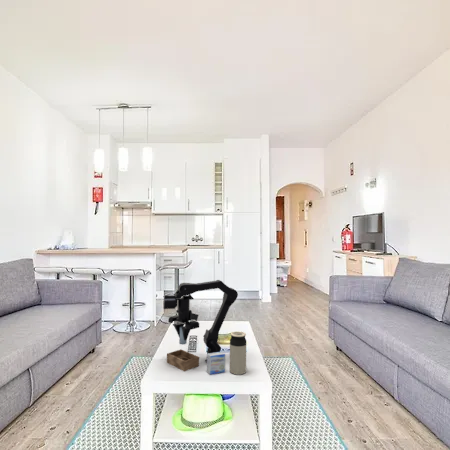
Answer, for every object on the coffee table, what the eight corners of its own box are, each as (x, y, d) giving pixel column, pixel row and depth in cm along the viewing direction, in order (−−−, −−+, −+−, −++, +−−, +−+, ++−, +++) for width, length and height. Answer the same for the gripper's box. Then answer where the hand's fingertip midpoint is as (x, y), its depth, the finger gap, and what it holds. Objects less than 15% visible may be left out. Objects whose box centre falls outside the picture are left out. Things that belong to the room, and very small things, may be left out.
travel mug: (231, 375, 146) (232, 336, 147) (227, 368, 154) (228, 331, 154) (248, 374, 148) (248, 335, 148) (243, 367, 155) (243, 330, 156)
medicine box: (209, 375, 146) (210, 356, 147) (206, 371, 150) (206, 353, 151) (225, 372, 149) (225, 354, 150) (221, 368, 153) (221, 350, 154)
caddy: (198, 366, 156) (199, 356, 156) (184, 371, 150) (184, 361, 150) (180, 357, 166) (181, 349, 167) (166, 362, 160) (166, 353, 160)
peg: (188, 343, 159) (188, 327, 159) (182, 345, 156) (182, 328, 157) (183, 341, 161) (183, 325, 162) (177, 343, 159) (178, 327, 159)
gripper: (207, 309, 159) (207, 340, 158) (185, 303, 172) (184, 332, 171) (190, 312, 151) (189, 345, 150) (168, 306, 164) (167, 336, 163)
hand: (183, 339), depth 159 cm, fingers closed on peg, 4 cm apart
